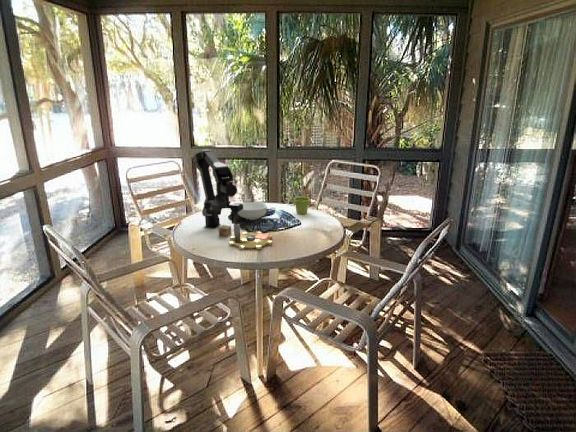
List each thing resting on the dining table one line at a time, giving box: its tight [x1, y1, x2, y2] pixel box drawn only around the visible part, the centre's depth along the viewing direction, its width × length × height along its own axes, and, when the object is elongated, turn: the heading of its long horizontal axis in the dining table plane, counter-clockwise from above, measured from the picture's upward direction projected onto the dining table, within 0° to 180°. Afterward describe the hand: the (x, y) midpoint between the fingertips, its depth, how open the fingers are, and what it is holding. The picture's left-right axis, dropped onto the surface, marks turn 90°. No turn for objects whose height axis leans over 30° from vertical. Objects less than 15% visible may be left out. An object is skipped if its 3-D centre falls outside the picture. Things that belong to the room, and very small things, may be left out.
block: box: [218, 224, 232, 238], centre depth 194 cm, size 4×4×4 cm
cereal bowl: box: [237, 201, 268, 221], centre depth 220 cm, size 17×17×7 cm
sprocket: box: [228, 223, 273, 250], centre depth 184 cm, size 21×21×10 cm
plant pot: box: [293, 196, 311, 215], centre depth 227 cm, size 9×9×9 cm
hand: (224, 222), depth 193 cm, fingers open, 9 cm apart
